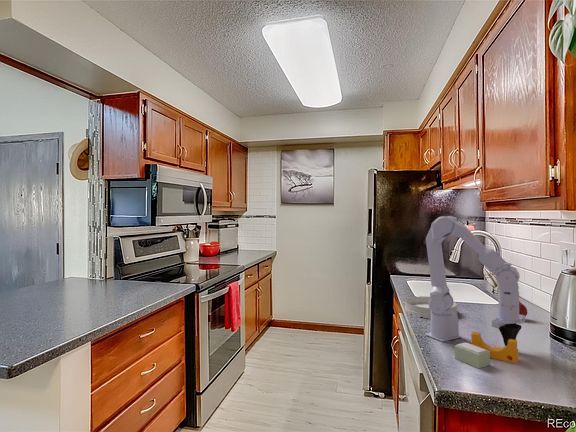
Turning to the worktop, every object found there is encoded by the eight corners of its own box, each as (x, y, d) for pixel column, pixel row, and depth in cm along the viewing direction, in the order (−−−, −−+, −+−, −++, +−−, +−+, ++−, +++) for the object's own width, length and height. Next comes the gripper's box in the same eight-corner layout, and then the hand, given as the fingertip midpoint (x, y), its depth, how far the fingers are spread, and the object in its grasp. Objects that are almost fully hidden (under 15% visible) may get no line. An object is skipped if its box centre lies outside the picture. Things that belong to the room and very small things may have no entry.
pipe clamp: (518, 359, 106) (518, 338, 106) (515, 364, 103) (515, 342, 103) (475, 349, 114) (475, 330, 114) (471, 353, 111) (471, 333, 111)
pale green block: (465, 355, 110) (465, 341, 110) (489, 365, 102) (489, 350, 102) (454, 358, 107) (454, 344, 107) (478, 368, 100) (478, 353, 100)
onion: (530, 322, 141) (530, 302, 141) (514, 321, 143) (514, 302, 143) (523, 318, 147) (523, 299, 147) (508, 317, 148) (508, 298, 148)
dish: (416, 321, 146) (416, 309, 146) (397, 307, 168) (397, 296, 168) (467, 319, 147) (467, 308, 147) (442, 306, 169) (442, 295, 169)
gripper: (507, 310, 106) (507, 354, 106) (534, 304, 112) (535, 346, 112) (485, 305, 112) (485, 347, 112) (512, 299, 119) (513, 339, 119)
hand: (509, 346), depth 113 cm, fingers closed
